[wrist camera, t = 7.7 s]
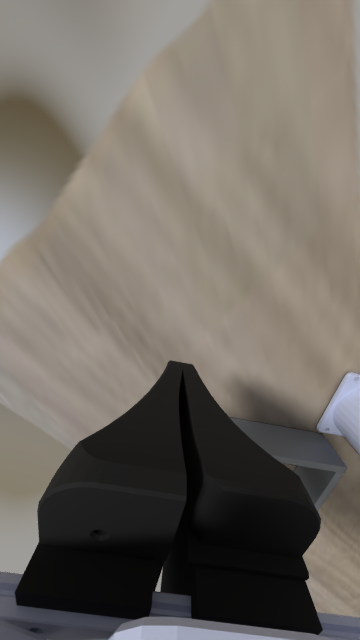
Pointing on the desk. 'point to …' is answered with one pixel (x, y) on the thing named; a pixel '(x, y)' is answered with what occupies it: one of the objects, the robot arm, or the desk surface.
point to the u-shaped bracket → (300, 455)
